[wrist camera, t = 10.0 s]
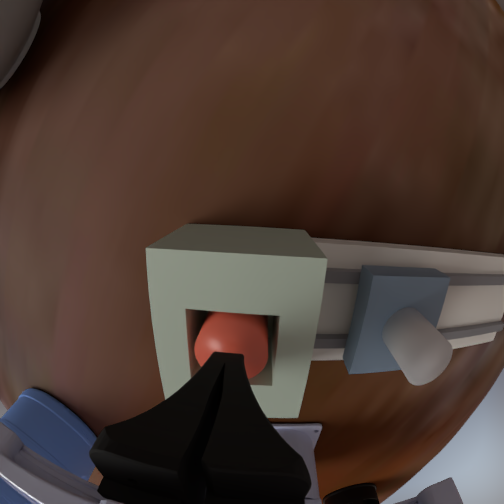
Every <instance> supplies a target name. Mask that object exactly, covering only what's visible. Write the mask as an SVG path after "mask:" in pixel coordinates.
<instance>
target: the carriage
mask: <svg viewBox="0 0 504 504" xmlns="http://www.w3.org/2000/svg"><path fill="white" fill-rule="evenodd" d="M449 282H450V277H449V276H447V275H445V274H444V273H442V272H440V271H439V270H437V269H435V268H416V267H395V266H375V265H362V268H361V274H360V280H359V285H358V291H357V296H356V301H355V306H354V311H353V315H352V320H351V324H350V329H349V333H348V337H347V341H346V345H345V349H344V353H343V360H344V363H345V365H346V368H347V370H348V373H349V374H360V373H373V372H384V371H393V370H402V371H403V373H404V374H405V376H406V378H407V379H408V381H409V382H410V383H411V384H413V385H423V384H426V383H429V382H431V381H432V380H434V379H435V378H436V377H438V376H439V375H440V374H441V373H442V372H443V371H444V370H445V368H446V367H447V365H448V364H449V362H450V359H451V357H452V345H451V343H450V342H449V341H448V340H447V339H446V338H445V337H444V336H443V335H442V334H441V333H440V332H439V331H438V330H437V329H436V327H437V324H438V321H439V317H440V314H441V311H442V308H443V304H444V301H445V297H446V294H447V290H448V286H449Z"/></svg>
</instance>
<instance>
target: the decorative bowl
mask: <svg viewBox="0 0 504 504" xmlns="http://www.w3.org/2000/svg"><path fill="white" fill-rule="evenodd" d="M42 1H43V0H0V89H1V88H2V87H3V86H4V85H5V84H6V82H7V81H8V80H9V79H10V78H11V76H12V75H13V74H14V72H15V71H16V69H17V68H18V66H19V65H20V63H21V62H22V60H23V58H24V57H25V55H26V53H27V51H28V50H29V48H30V46H31V44H32V42H33V40H34V38H35V35H36V33H37V30H38V27H39V24H40V20H41V14H40V11H39V10H40V7H41V4H42Z"/></svg>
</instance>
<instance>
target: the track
mask: <svg viewBox="0 0 504 504" xmlns="http://www.w3.org/2000/svg"><path fill="white" fill-rule="evenodd" d="M146 261H147V275H148V287H149V298H150V307H151V316H152V324H153V332H154V339H155V345H156V352H157V358H158V364H159V370H160V375H161V380H162V385H163V390H164V395H165V400H166V399H167V398H169V397H170V396H171V395H173V394H174V393H175V392H176V391H178V390H179V389H180V388H181V387H182V386H183V385H184V384H185V383H186V382H188V381H189V380H190V379H191V378H192V377H193V376H194V375H195V373H196V372H197V371H198V370H199V369H200V368H201V366H200V364H199V363H198V361H197V359H196V356H195V351H194V347H195V342H196V340H197V337H198V335H199V332H200V330H201V328H202V325H203V323H204V320H205V318H206V316H207V313H208V311H217V312H229V313H243V314H258V315H268V360H267V363H266V365H265V367H264V369H263V370H262V371H261V372H260V373H259V374H257V375H256V376H254V377H252V378H250V379H248V380H249V383H250V386H251V388H252V391H253V393H254V395H255V397H256V400H257V402H258V403H259V405H260V407H261V409H262V411H263V412H264V414H265V415H266V417H267V418H298V415H299V411H300V407H301V403H302V399H303V395H304V390H305V386H306V382H307V377H308V372H309V368H310V363H311V360H343V353H344V349H345V345H346V341H347V337H348V333H349V329H350V324H351V320H352V315H353V311H354V306H355V301H356V296H357V291H358V285H359V280H360V274H361V268H362V265H375V266H395V267H416V268H435V269H437V270H439V271H440V272H442V273H444V274H445V275H447V276H449V277H450V282H449V286H448V290H447V294H446V297H445V301H444V304H443V308H442V311H441V314H440V317H439V321H438V324H437V327H436V329H437V330H438V331H439V332H440V333H441V334H442V335H443V336H444V337H445V338H446V339H447V340H448V341H449V342H450V343H451V345H452V349H455V348H461V347H466V346H471V345H476V344H481V343H485V342H490V341H493V340H494V337H495V335H496V332H497V331H502V329H503V326H504V323H503V322H502V321H501V319H502V316H503V313H504V254H495V253H486V252H477V251H467V250H457V249H446V248H436V247H425V246H414V245H402V244H390V243H378V242H365V241H352V240H338V239H324V238H311V237H310V236H309V235H308V233H307V232H306V231H305V230H299V229H283V228H267V227H249V226H230V225H208V224H186V225H184V226H182V227H181V228H179V229H177V230H175V231H174V232H172V233H170V234H168V235H167V236H165V237H163V238H162V239H160V240H158V241H157V242H155V243H153V244H151V245H150V246H148V247H146Z"/></svg>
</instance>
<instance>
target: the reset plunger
mask: <svg viewBox="0 0 504 504" xmlns="http://www.w3.org/2000/svg"><path fill="white" fill-rule="evenodd" d="M194 351H195V356H196V359H197V361H198V363H199V364H200V366H201V367H202V366H203V364H204V363H205V362H206V361H207V360H208V358H209V357H210V356H211V354H212V353H213V352H214V351H216V352H226V353H238V354H243V355H244V364H245V369H246V374H247V377H248V379H250V378H252V377H254V376H256V375H257V374H259V373H260V372H261V371H262V370H263V369H264V367H265V365H266V363H267V360H268V315H258V314H243V313H229V312H217V311H208V313H207V316H206V318H205V320H204V323H203V325H202V328H201V330H200V332H199V335H198V337H197V340H196V342H195V347H194Z"/></svg>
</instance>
